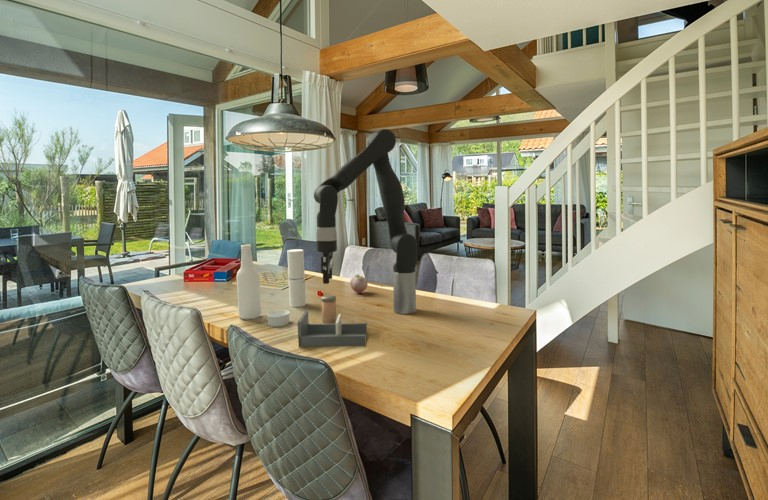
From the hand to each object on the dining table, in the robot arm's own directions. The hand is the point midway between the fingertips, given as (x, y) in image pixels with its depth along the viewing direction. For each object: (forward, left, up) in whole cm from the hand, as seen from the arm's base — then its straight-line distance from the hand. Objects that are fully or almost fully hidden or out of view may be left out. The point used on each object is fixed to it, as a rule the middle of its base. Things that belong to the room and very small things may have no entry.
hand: (327, 281), depth 152 cm
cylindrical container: (+18, -27, -17) cm, 37 cm away
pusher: (-6, +17, -16) cm, 24 cm away
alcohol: (+34, -10, -17) cm, 39 cm away
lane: (-4, +17, -17) cm, 24 cm away
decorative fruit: (-9, -46, -17) cm, 50 cm away
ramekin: (+20, -1, -17) cm, 26 cm away
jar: (0, 0, -17) cm, 17 cm away
